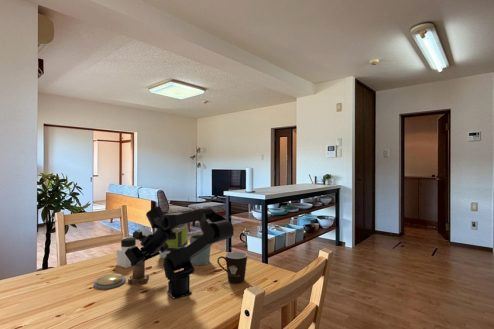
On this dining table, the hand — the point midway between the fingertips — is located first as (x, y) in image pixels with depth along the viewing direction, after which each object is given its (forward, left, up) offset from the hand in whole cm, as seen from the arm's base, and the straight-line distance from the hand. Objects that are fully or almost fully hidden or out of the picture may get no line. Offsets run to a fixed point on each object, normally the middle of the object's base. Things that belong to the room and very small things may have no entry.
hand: (135, 263), depth 109 cm
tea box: (-27, -21, -7) cm, 35 cm away
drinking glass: (-31, -2, -7) cm, 31 cm away
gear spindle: (-1, +1, -7) cm, 7 cm away
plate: (+8, -4, -7) cm, 11 cm away
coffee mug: (-30, +24, -7) cm, 39 cm away
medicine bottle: (-4, -20, -7) cm, 21 cm away
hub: (+8, -4, -7) cm, 11 cm away
